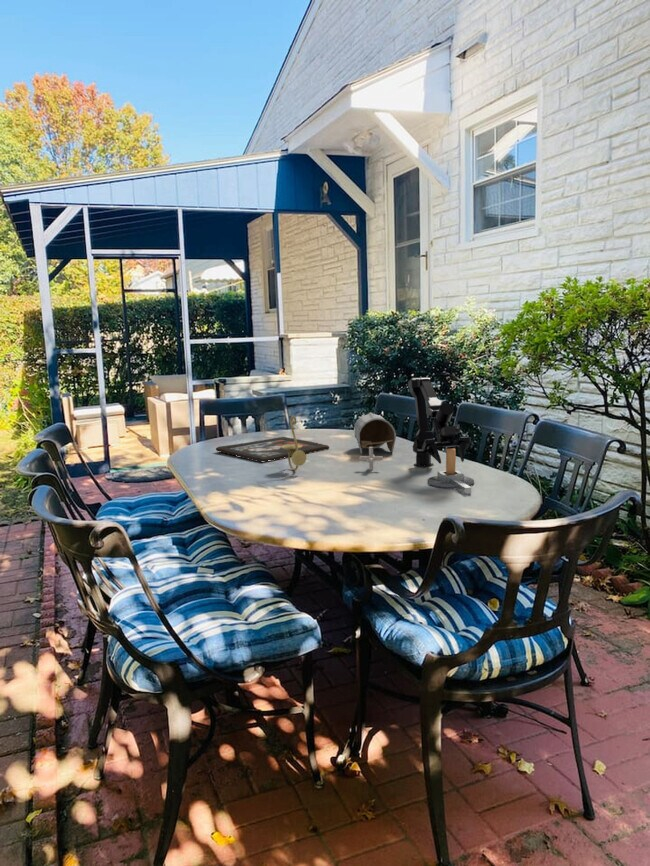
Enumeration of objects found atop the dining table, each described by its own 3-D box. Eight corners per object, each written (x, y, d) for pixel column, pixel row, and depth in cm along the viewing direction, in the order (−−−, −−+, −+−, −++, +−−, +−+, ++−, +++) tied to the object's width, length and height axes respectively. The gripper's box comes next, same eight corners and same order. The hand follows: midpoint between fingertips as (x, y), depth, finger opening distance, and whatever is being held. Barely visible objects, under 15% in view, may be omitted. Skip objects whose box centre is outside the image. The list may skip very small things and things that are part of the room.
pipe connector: (381, 472, 276) (381, 449, 274) (358, 472, 278) (357, 449, 276) (384, 467, 285) (383, 445, 284) (361, 467, 287) (361, 444, 286)
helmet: (398, 457, 309) (386, 443, 339) (398, 419, 306) (386, 409, 335) (360, 459, 308) (351, 445, 337) (359, 421, 304) (350, 410, 333)
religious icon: (213, 453, 331) (213, 447, 331) (282, 441, 361) (282, 436, 360) (260, 464, 302) (260, 458, 301) (330, 450, 332) (330, 445, 331)
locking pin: (446, 478, 256) (446, 448, 254) (455, 479, 255) (455, 448, 253) (445, 481, 253) (445, 449, 251) (454, 481, 252) (455, 450, 250)
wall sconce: (310, 472, 280) (308, 415, 276) (289, 475, 276) (287, 417, 272) (298, 466, 293) (296, 411, 288) (279, 468, 289) (276, 413, 285)
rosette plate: (421, 479, 262) (421, 469, 261) (463, 476, 265) (463, 466, 264) (444, 496, 235) (444, 485, 235) (491, 492, 238) (491, 481, 238)
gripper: (424, 419, 252) (433, 452, 244) (469, 416, 255) (480, 449, 247) (418, 435, 261) (427, 468, 253) (462, 432, 264) (472, 464, 256)
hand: (451, 462), depth 252 cm, fingers open, 9 cm apart
